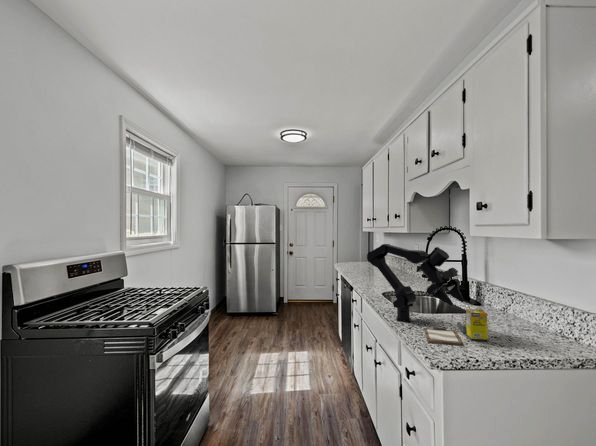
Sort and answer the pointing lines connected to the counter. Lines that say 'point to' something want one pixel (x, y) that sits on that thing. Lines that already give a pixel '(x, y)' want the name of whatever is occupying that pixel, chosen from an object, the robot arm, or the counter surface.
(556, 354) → the counter surface
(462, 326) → the dark grey rod
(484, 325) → the supplement box
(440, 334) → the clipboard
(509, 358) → the counter surface
